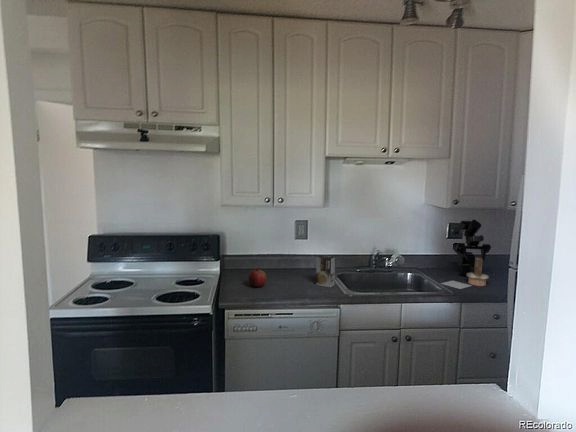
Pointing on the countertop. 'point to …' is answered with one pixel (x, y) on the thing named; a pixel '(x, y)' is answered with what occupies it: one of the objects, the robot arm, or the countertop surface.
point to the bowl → (477, 281)
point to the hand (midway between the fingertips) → (475, 259)
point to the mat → (456, 284)
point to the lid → (478, 270)
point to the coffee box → (325, 271)
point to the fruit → (257, 277)
